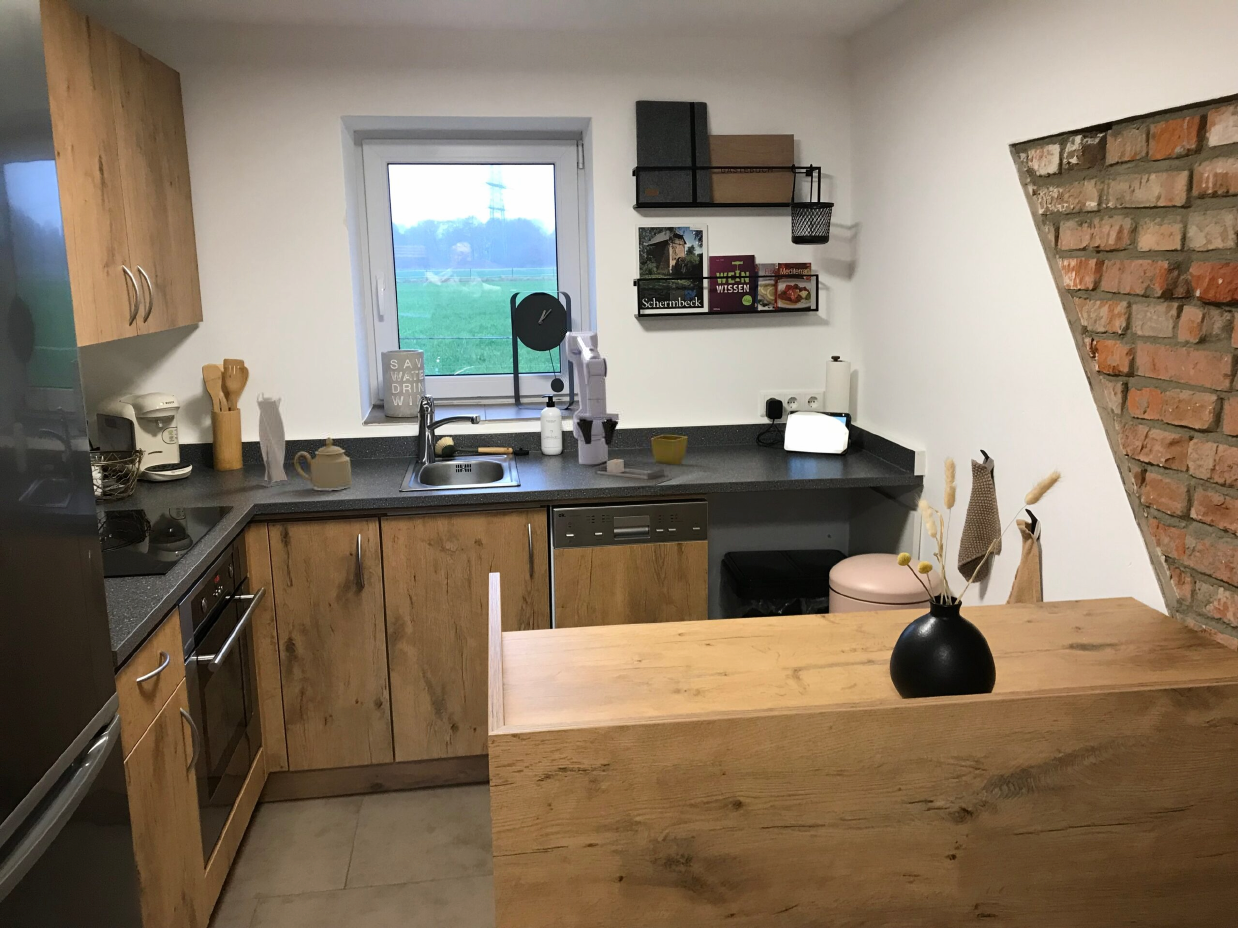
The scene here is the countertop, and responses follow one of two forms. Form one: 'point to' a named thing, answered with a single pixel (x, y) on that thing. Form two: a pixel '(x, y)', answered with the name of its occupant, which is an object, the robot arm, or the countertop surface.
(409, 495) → the countertop surface
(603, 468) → the fader console
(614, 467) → the fader knob
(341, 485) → the sugar bowl
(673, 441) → the flower pot
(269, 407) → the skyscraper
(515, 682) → the countertop surface
